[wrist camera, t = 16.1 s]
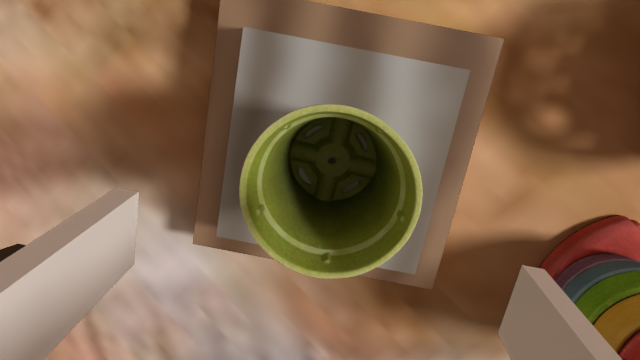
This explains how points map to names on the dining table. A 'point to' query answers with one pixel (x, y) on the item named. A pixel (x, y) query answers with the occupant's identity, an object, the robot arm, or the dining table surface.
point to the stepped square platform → (345, 89)
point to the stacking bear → (603, 279)
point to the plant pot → (330, 191)
